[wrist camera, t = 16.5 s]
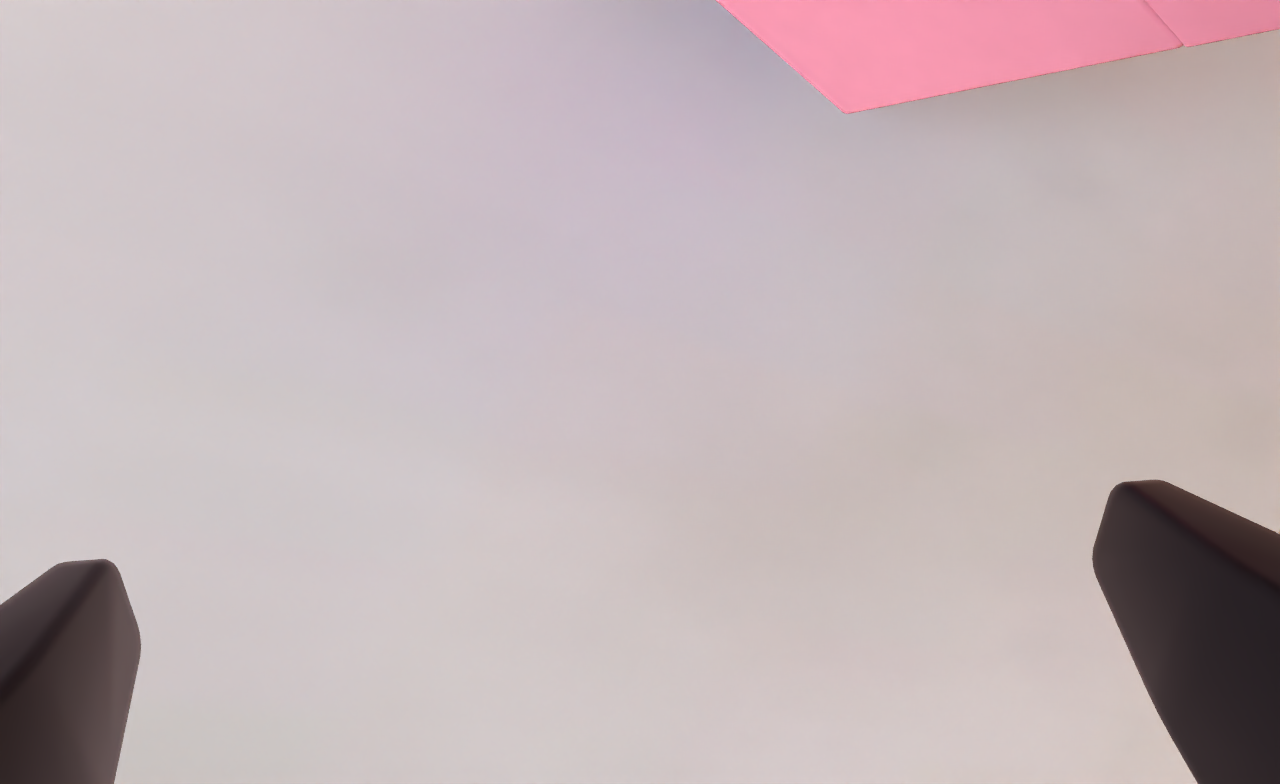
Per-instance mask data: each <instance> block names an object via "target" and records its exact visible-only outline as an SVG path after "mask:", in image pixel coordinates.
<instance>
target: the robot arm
mask: <svg viewBox="0 0 1280 784" xmlns="http://www.w3.org/2000/svg"><path fill="white" fill-rule="evenodd" d="M1092 560H1093V568H1094V572H1095V575H1096V578H1097V580H1098V582H1099V585H1100V587H1101V589H1102V591H1103V593H1104V596H1105V598H1106V600H1107V602H1108V605H1109V607H1110V609H1111V611H1112V613H1113V616H1114V618H1115V620H1116V622H1117V625H1118V627H1119V629H1120V631H1121V634H1122V636H1123V638H1124V640H1125V642H1126V645H1127V647H1128V649H1129V651H1130V654H1131V656H1132V658H1133V660H1134V663H1135V665H1136V667H1137V669H1138V671H1139V674H1140V676H1141V678H1142V680H1143V683H1144V685H1145V687H1146V689H1147V691H1148V694H1149V696H1150V698H1151V700H1152V702H1153V704H1154V706H1155V708H1156V710H1157V712H1158V714H1159V716H1160V718H1161V720H1162V721H1163V723H1164V725H1165V727H1166V729H1167V731H1168V732H1169V734H1170V736H1171V738H1172V740H1173V741H1174V743H1175V745H1176V747H1177V748H1178V750H1179V752H1180V753H1181V755H1182V757H1183V759H1184V760H1185V762H1186V764H1187V766H1188V767H1189V769H1190V771H1191V772H1192V774H1193V776H1194V778H1195V779H1196V781H1197V783H1198V784H1280V534H1278V533H1276V532H1274V531H1272V530H1269V529H1267V528H1265V527H1263V526H1261V525H1259V524H1257V523H1254V522H1252V521H1250V520H1248V519H1246V518H1244V517H1241V516H1239V515H1237V514H1235V513H1233V512H1231V511H1228V510H1226V509H1224V508H1222V507H1220V506H1218V505H1215V504H1213V503H1211V502H1209V501H1207V500H1205V499H1202V498H1200V497H1198V496H1196V495H1194V494H1192V493H1189V492H1187V491H1185V490H1183V489H1181V488H1179V487H1177V486H1174V485H1172V484H1170V483H1168V482H1165V481H1162V480H1142V481H1129V482H1122V483H1120V484H1118V485H1116V486H1115V487H1114V488H1113V490H1112V491H1111V492H1110V495H1109V497H1108V501H1107V504H1106V507H1105V511H1104V514H1103V518H1102V521H1101V524H1100V528H1099V531H1098V534H1097V538H1096V541H1095V544H1094V548H1093V558H1092ZM140 651H141V640H140V632H139V628H138V625H137V622H136V619H135V616H134V613H133V610H132V607H131V605H130V602H129V599H128V596H127V593H126V590H125V587H124V584H123V581H122V578H121V575H120V573H119V571H118V569H117V567H116V566H115V565H114V563H112V562H110V561H108V560H106V559H98V560H84V561H71V562H63V563H60V564H57V565H55V566H54V567H52V568H51V569H49V570H48V571H46V572H45V573H44V574H42V575H41V576H40V577H38V578H37V579H35V580H34V581H33V582H31V583H30V584H29V585H27V586H26V587H24V588H23V589H22V590H20V591H19V592H18V593H16V594H15V595H14V596H12V597H11V598H9V599H8V600H7V601H5V602H4V603H3V604H1V605H0V784H114V780H115V776H116V771H117V766H118V761H119V756H120V751H121V747H122V742H123V737H124V732H125V727H126V722H127V718H128V713H129V708H130V703H131V698H132V693H133V688H134V684H135V679H136V674H137V669H138V664H139V659H140Z"/></svg>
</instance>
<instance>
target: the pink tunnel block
mask: <svg viewBox="0 0 1280 784" xmlns="http://www.w3.org/2000/svg"><path fill="white" fill-rule="evenodd" d="M716 1H717V2H718V3H719V4H721V5H722V6H723V7H724V8H725V9H726V10H727V11H729V12H730V13H731V14H732V15H733V16H734V17H735V18H736V19H738V20H739V21H740V22H741V23H742V24H743V25H744V26H746V27H747V28H748V29H749V30H750V31H751V32H752V33H754V34H755V35H756V36H757V37H758V38H759V39H760V40H762V41H763V42H764V43H765V44H766V45H767V46H768V47H769V48H771V49H772V50H773V51H774V52H775V53H776V54H777V55H779V56H780V57H781V58H782V59H783V60H784V61H785V62H787V63H788V64H789V65H790V66H791V67H792V68H793V69H794V70H796V71H797V72H798V73H799V74H800V75H801V76H802V77H804V78H805V79H806V80H807V81H808V82H809V83H810V84H812V85H813V86H814V87H815V88H816V89H817V90H818V91H819V92H821V93H822V94H823V95H824V96H825V97H826V98H827V99H829V100H830V101H831V102H832V103H833V104H834V105H835V106H837V107H838V108H839V109H840V110H841V111H842V112H843V113H846V114H849V113H854V112H860V111H865V110H870V109H875V108H880V107H885V106H890V105H895V104H900V103H905V102H910V101H915V100H920V99H925V98H930V97H935V96H940V95H945V94H950V93H955V92H960V91H965V90H970V89H975V88H980V87H985V86H990V85H995V84H1000V83H1005V82H1010V81H1015V80H1020V79H1025V78H1030V77H1035V76H1040V75H1045V74H1050V73H1055V72H1060V71H1065V70H1070V69H1075V68H1080V67H1085V66H1090V65H1096V64H1101V63H1106V62H1111V61H1116V60H1121V59H1126V58H1131V57H1136V56H1141V55H1146V54H1151V53H1156V52H1161V51H1166V50H1171V49H1176V48H1180V47H1181V46H1183V45H1184V46H1186V47H1192V46H1197V45H1202V44H1207V43H1212V42H1217V41H1222V40H1227V39H1232V38H1237V37H1242V36H1247V35H1252V34H1257V33H1262V32H1267V31H1272V30H1277V29H1280V0H716Z"/></svg>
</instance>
